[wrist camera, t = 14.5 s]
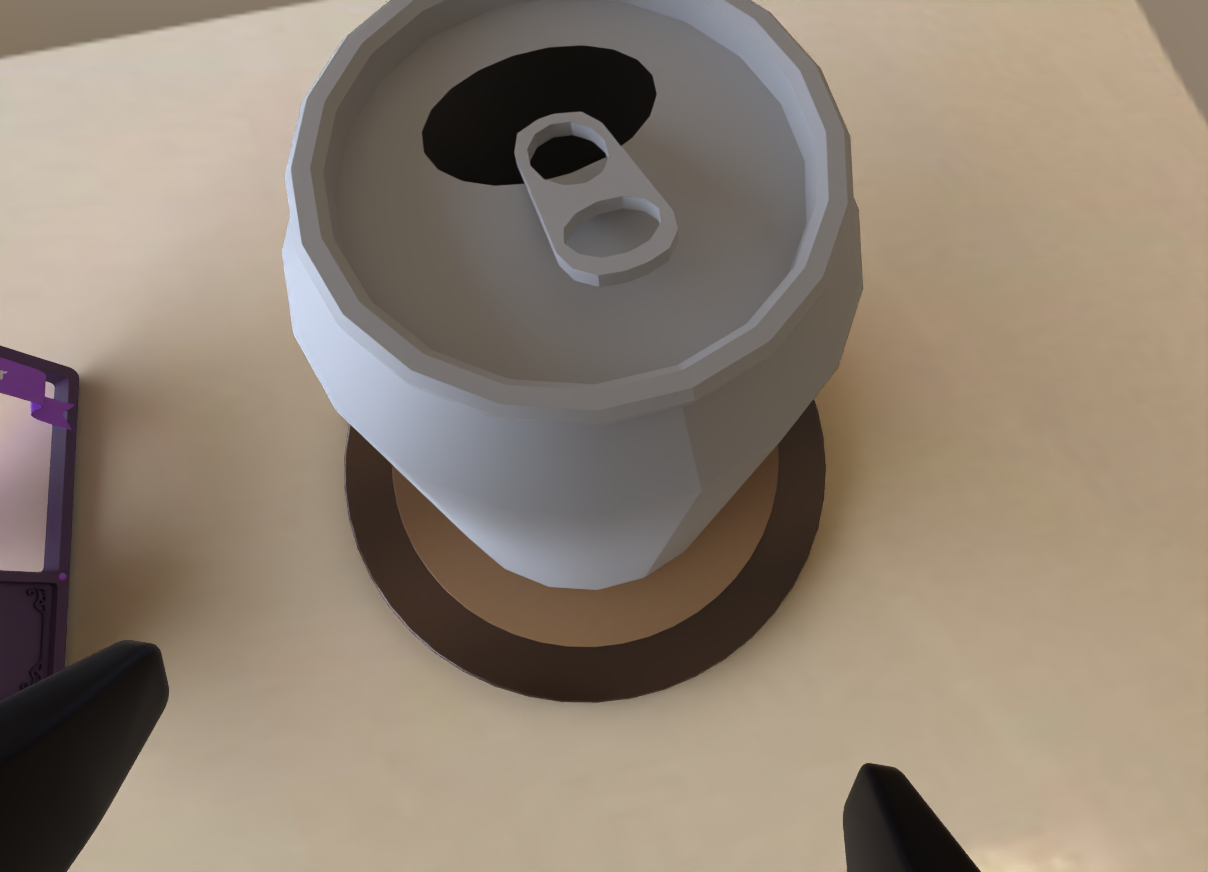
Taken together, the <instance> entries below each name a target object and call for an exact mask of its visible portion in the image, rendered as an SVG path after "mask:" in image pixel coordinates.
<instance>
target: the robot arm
mask: <svg viewBox="0 0 1208 872" xmlns="http://www.w3.org/2000/svg"><path fill="white" fill-rule="evenodd" d="M168 697H169V685H168V681H167V676H166V672H165V668H164V663H163V659H162V654H161V651H160V649H159V648H158V647H157V646H156V645H155V644H152V643H147V642H141V641H135V640H122V641H119V642H117V643H114V644H112V645H110V646H108V647H106V648H104V649H102V650H100V651H98V652H97V653H95V654H93V655H91V656H89V657H87V658H85V659H83V660H81V661H79V662H77V663H75V664H73V665H71V666H69V667H67V668H65V669H63V670H61V671H59V672H57V673H55V674H53V675H51V676H49V677H47V678H45V679H43V680H41V681H39V682H37V683H35V684H33V685H31V686H29V687H27V688H25V689H23V690H21V691H19V692H17V693H15V694H13V695H11V696H9V697H7V698H5V699H3V700H1V701H0V872H67V871H68V869H69V868H70V866H71V865H72V863H73V862H74V860H75V859H76V857H77V856H78V855H79V853H80V852H81V850H82V849H83V847H84V846H85V844H86V843H87V841H88V840H89V838H90V837H91V835H92V834H93V832H94V831H95V829H96V828H97V826H98V825H99V823H100V821H101V820H102V818H103V816H104V815H105V813H106V811H107V810H108V808H109V806H110V805H111V803H112V801H113V799H114V798H115V796H116V794H117V792H118V790H119V789H120V787H121V785H122V783H123V782H124V780H125V778H126V776H127V775H128V773H129V771H130V769H131V767H132V766H133V764H134V762H135V760H136V759H137V757H138V755H139V753H140V752H141V750H142V748H143V746H144V744H145V743H146V741H147V739H148V737H149V736H150V734H151V732H152V730H153V728H154V727H155V725H156V723H157V721H158V720H159V718H160V716H161V714H162V713H163V711H164V709H165V707H166V704H167V701H168ZM843 829H844V840H845V852H846V863H847V872H981V871H980V870H979V869H978V867H977V866H976V865H975V864H974V862H973V861H972V860H971V859H970V857H969V856H968V855H967V854H966V852H965V851H964V850H963V849H962V847H961V846H960V845H959V843H958V842H957V841H956V840H955V838H954V837H953V836H952V835H951V833H950V832H949V831H948V830H947V828H946V827H945V826H944V825H943V823H942V822H941V821H940V819H939V818H938V817H937V816H936V814H935V813H934V812H933V811H932V809H931V808H930V807H929V806H928V804H927V803H926V802H925V801H924V799H923V798H922V797H921V795H920V794H919V793H918V792H917V790H916V789H915V788H914V787H913V785H912V784H911V783H910V782H909V780H908V779H907V778H906V777H905V775H904V774H903V773H902V772H901V771H899V770H898V769H897V768H894V767H890V766H884V765H878V764H872V763H866V764H864V765H863V766H862V767H861V769H860V770H859V772H858V775H857V777H856V779H855V782H854V784H853V786H852V789H851V791H850V793H849V796H848V798H847V800H846V803H845V806H844V812H843Z"/></svg>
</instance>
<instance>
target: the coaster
mask: <svg viewBox="0 0 1208 872" xmlns="http://www.w3.org/2000/svg"><path fill="white" fill-rule="evenodd" d="M825 473H826V464H825V451H824V438H823V433H822V429H821V424H820V419H819V415H818V410H817V407H816V404H815V401H814V399H813V400H812V402H811V403H810V404H809V406H808V407H807V408H806V409H805V411H804V412H803V413H802V414H801V416H800V417H799V418H798V420H797V421H796V422H795V423H794V425H793V426H792V427H791V428H790V430H789V431H788V432H787V434H786V435H785V436H784V437H783V439H782V440H781V441H780V442H779V443H778V444H777V446H776V447H775V448H774V449H773V450H772V451H771V452H770V454H769V455H768V456H767V457H766V458H765V459H764V461H763V462H762V463H761V464H760V465H759V466H758V467H757V469H756V470H755V471H754V472H753V473H752V474H751V476H750V477H749V478H748V479H747V480H746V481H745V482H744V484H743V485H742V486H741V487H740V488H739V489H738V490H737V492H736V493H735V494H734V495H733V496H732V497H731V499H730V500H729V501H728V502H727V503H726V504H725V505H724V507H723V508H722V509H721V510H720V511H719V512H718V514H717V515H716V516H715V517H714V518H713V519H712V520H711V522H710V523H709V524H708V525H707V526H706V527H705V528H704V530H703V531H702V532H701V533H700V534H699V535H698V537H697V538H696V539H695V540H694V541H693V542H692V543H691V545H690V546H689V547H688V548H687V549H686V550H685V552H683V553H682V554H680V555H679V556H677V557H675V558H674V559H672V560H671V561H669V562H668V563H666V564H665V565H663V566H662V567H660V568H659V569H657V570H656V571H654V572H652V573H651V574H649V575H648V576H646V577H645V578H641V579H638V580H634V581H630V582H626V583H622V584H619V585H615V586H611V587H607V588H603V589H600V590H590V589H574V588H558V587H548V586H546V585H543V584H541V583H538V582H536V581H533V580H531V579H528V578H526V577H523V576H521V575H518V574H516V573H513V572H511V571H509V570H506V569H504V568H503V567H502V566H501V565H499V564H498V563H497V562H496V561H495V560H494V559H492V558H491V557H490V556H489V555H488V554H487V553H486V552H484V551H483V550H482V549H481V548H480V547H479V546H477V545H476V544H475V543H474V542H473V541H472V540H470V539H469V538H468V537H467V536H466V535H465V534H464V533H463V532H462V531H461V530H460V529H459V528H458V527H457V526H456V525H455V524H454V523H453V522H452V521H450V520H449V519H448V518H447V517H446V516H445V515H444V514H443V513H442V512H441V511H440V510H439V509H438V508H437V507H436V506H435V505H434V504H433V503H432V502H431V501H430V500H429V499H428V498H427V497H425V496H424V495H423V494H422V493H421V492H420V491H419V490H418V489H417V488H416V487H415V486H414V485H413V484H412V483H411V482H410V481H409V480H408V479H407V478H406V477H405V476H404V475H403V474H402V473H400V472H399V471H398V470H397V469H396V468H395V467H394V466H393V465H392V464H391V463H390V462H389V461H388V460H387V459H386V458H385V457H384V456H383V455H382V454H381V453H380V452H379V451H378V450H377V449H376V448H374V447H373V446H372V445H371V444H370V443H369V442H368V441H367V440H366V439H365V438H364V437H363V436H362V435H361V434H360V433H359V432H358V431H357V430H356V429H355V428H354V427H353V426H352V425H351V424H349V428H348V436H347V443H346V450H345V493H346V500H347V507H348V514H349V520H350V523H351V527H352V530H353V534H354V537H355V541H356V544H357V548H358V550H359V552H360V555H361V557H362V559H363V561H364V564H365V566H366V568H367V570H368V573H369V575H370V577H371V579H372V580H373V582H374V584H375V585H376V587H377V588H378V590H379V592H380V593H381V595H382V596H383V598H384V599H385V601H386V603H387V604H388V606H389V607H390V608H391V609H392V610H393V612H394V613H395V614H396V615H397V616H398V617H399V619H400V620H401V621H402V622H403V623H404V624H405V626H406V627H407V628H408V629H409V630H410V631H411V632H412V633H413V634H414V635H415V636H416V637H417V638H419V639H420V640H421V641H422V642H423V643H424V644H425V645H427V646H428V647H429V648H430V649H431V650H432V651H433V652H435V653H436V654H437V655H439V656H440V657H442V658H443V659H445V660H447V661H448V662H450V663H451V664H453V665H454V666H456V667H457V668H459V669H460V670H462V671H463V672H465V673H467V674H470V675H472V676H474V677H476V678H478V679H480V680H482V681H484V682H487V683H489V684H491V685H493V686H495V687H499V688H502V689H505V690H508V691H512V692H515V693H518V694H521V695H525V696H528V697H534V698H541V699H547V700H553V701H559V702H592V703H598V702H606V701H614V700H622V699H631V698H635V697H639V696H642V695H646V694H650V693H654V692H657V691H661V690H665V689H667V688H670V687H672V686H674V685H677V684H679V683H681V682H684V681H686V680H689V679H691V678H693V677H696V676H698V675H699V674H701V673H703V672H704V671H706V670H708V669H709V668H711V667H713V666H714V665H716V664H718V663H719V662H721V661H723V660H724V659H726V658H727V657H728V656H730V655H731V654H732V653H733V652H735V651H736V650H737V649H738V648H740V647H741V646H742V645H743V644H745V643H746V642H747V641H748V640H749V639H751V638H752V637H753V636H754V635H755V634H756V633H757V632H758V630H759V629H760V628H761V627H762V626H763V625H764V624H765V623H766V622H767V621H768V620H769V619H770V618H771V617H772V616H773V614H774V613H775V612H776V611H777V609H778V608H779V606H780V605H781V603H782V602H783V601H784V599H785V598H786V596H787V595H788V593H789V592H790V591H791V589H792V588H793V586H794V584H795V582H796V580H797V578H798V576H799V574H800V572H801V570H802V568H803V567H804V565H805V563H806V561H807V559H808V556H809V553H810V550H811V547H812V544H813V542H814V539H815V536H816V533H817V530H818V526H819V521H820V516H821V511H822V506H823V501H824V490H825Z"/></svg>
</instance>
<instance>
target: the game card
mask: <svg viewBox="0 0 1208 872" xmlns="http://www.w3.org/2000/svg"><path fill="white" fill-rule="evenodd" d="M46 381H47V382H50V383H52V384H53V385H54V386H55V393H54V399H50V398H47V397H45V383H46ZM78 391H79V376H78V374H77V372H76V371H75V370H74V369H72V368H70V367H66V366H63V365H60V364H57V363H54V362H50V361H47V360H44V359H41V358H38V357H35V356H31V355H28V354H25V353H22V352H19V351H16V350H12V349H9V348H6V347H3V346H0V393H3V394H7V395H10V396H14V397H17V398H21V399H24V400H27V401H31V416H32V417H34V418H36V419H38V420H40V421H43V422H46V423H49V424H52V425H53V426H52V442H51V459H50V475H49V492H48V508H47V524H46V541H45V557H44V569H43V571H41V572H23V571H2V570H0V701H1V700H3V699H5V698H7V697H9V696H11V695H13V694H15V693H17V692H19V691H21V690H23V689H25V688H27V687H29V686H31V685H33V684H35V683H37V682H39V681H41V680H43V679H45V678H47V677H49V676H51V675H53V674H55V673H57V672H59V671H61V670H63V669H65V649H66V629H67V609H68V589H69V570H70V550H71V530H72V510H73V490H74V470H75V450H76V430H77V410H78Z"/></svg>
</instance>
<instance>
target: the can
mask: <svg viewBox="0 0 1208 872" xmlns="http://www.w3.org/2000/svg"><path fill="white" fill-rule="evenodd" d="M285 182H286V189H287V196H288V202H289V209H290V218H289V223H288V227H287V231H286V236H285V240H284V245H283V249H282V258H283V265H284V272H285V279H286V286H287V293H288V300H289V308H290V315H291V322H292V329H293V334H294V336H295V338H296V340H297V342H298V343H299V345H300V347H301V349H302V351H303V352H304V354H305V356H306V358H307V360H308V361H309V363H310V365H311V367H312V369H313V370H314V372H315V374H316V376H317V378H318V379H319V381H320V383H321V385H322V387H323V388H324V390H325V392H326V394H327V396H328V397H329V399H330V401H331V403H332V404H333V406H334V408H335V410H336V411H337V412H338V413H339V414H340V415H341V416H342V417H343V418H344V419H345V420H346V421H347V422H348V423H349V424H351V425H352V426H353V427H354V428H355V429H356V430H357V431H358V432H359V433H360V434H361V435H362V436H363V437H364V438H365V439H366V440H367V441H368V442H369V443H370V444H371V445H372V446H373V447H374V448H376V449H377V450H378V451H379V452H380V453H381V454H382V455H383V456H384V457H385V458H386V459H387V460H388V461H389V462H390V463H391V464H392V465H393V466H394V467H395V468H396V469H397V470H398V471H399V472H400V473H402V474H403V475H404V476H405V477H406V478H407V479H408V480H409V481H410V482H411V483H412V484H413V485H414V486H415V487H416V488H417V489H418V490H419V491H420V492H421V493H422V494H423V495H424V496H425V497H427V498H428V499H429V500H430V501H431V502H432V503H433V504H434V505H435V506H436V507H437V508H438V509H439V510H440V511H441V512H442V513H443V514H444V515H445V516H446V517H447V518H448V519H449V520H450V521H452V522H453V523H454V524H455V525H456V526H457V527H458V528H459V529H460V530H461V531H462V532H463V533H464V534H465V535H466V536H467V537H468V538H469V539H470V540H472V541H473V542H474V543H475V544H476V545H477V546H479V547H480V548H481V549H482V550H483V551H484V552H486V553H487V554H488V555H489V556H490V557H491V558H492V559H494V560H495V561H496V562H497V563H498V564H499V565H501V566H502V567H503V568H504V569H506V570H509V571H511V572H513V573H516V574H518V575H521V576H523V577H526V578H528V579H531V580H533V581H536V582H538V583H541V584H543V585H546V586H548V587H558V588H574V589H590V590H600V589H603V588H607V587H611V586H615V585H619V584H622V583H626V582H630V581H634V580H638V579H641V578H645V577H646V576H648V575H649V574H651V573H652V572H654V571H656V570H657V569H659V568H660V567H662V566H663V565H665V564H666V563H668V562H669V561H671V560H672V559H674V558H675V557H677V556H679V555H680V554H682V553H683V552H685V550H686V549H687V548H688V547H689V546H690V545H691V543H692V542H693V541H694V540H695V539H696V538H697V537H698V535H699V534H700V533H701V532H702V531H703V530H704V528H705V527H706V526H707V525H708V524H709V523H710V522H711V520H712V519H713V518H714V517H715V516H716V515H717V514H718V512H719V511H720V510H721V509H722V508H723V507H724V505H725V504H726V503H727V502H728V501H729V500H730V499H731V497H732V496H733V495H734V494H735V493H736V492H737V490H738V489H739V488H740V487H741V486H742V485H743V484H744V482H745V481H746V480H747V479H748V478H749V477H750V476H751V474H752V473H753V472H754V471H755V470H756V469H757V467H758V466H759V465H760V464H761V463H762V462H763V461H764V459H765V458H766V457H767V456H768V455H769V454H770V452H771V451H772V450H773V449H774V448H775V447H776V446H777V444H778V443H779V442H780V441H781V440H782V439H783V437H784V436H785V435H786V434H787V432H788V431H789V430H790V428H791V427H792V426H793V425H794V423H795V422H796V421H797V420H798V418H799V417H800V416H801V414H802V413H803V412H804V411H805V409H806V408H807V407H808V406H809V404H810V403H811V402H812V400H813V399H814V398H815V397H816V395H817V394H818V393H819V391H820V390H821V389H822V388H823V386H824V385H825V384H826V383H827V381H828V380H829V379H830V377H831V376H832V375H833V374H834V372H835V371H836V370H837V368H838V366H839V363H840V360H841V357H842V354H843V350H844V347H845V344H846V341H847V338H848V335H849V331H850V328H851V325H852V322H853V319H854V316H855V313H856V309H857V306H858V303H859V300H860V297H861V294H862V290H863V277H862V259H861V241H860V223H859V209H858V206H857V204H856V202H855V199H854V197H853V180H852V161H851V142H850V135H849V132H848V130H847V128H846V125H845V123H844V121H843V118H842V116H841V114H840V112H839V109H838V107H837V105H836V102H835V100H834V98H833V96H832V93H831V91H830V89H829V86H828V84H827V82H826V79H825V77H824V75H823V73H822V70H821V68H820V67H819V66H818V65H817V64H816V63H815V62H814V60H813V59H812V58H811V57H810V56H809V55H808V54H807V53H806V52H805V50H804V49H803V48H802V47H801V46H800V45H799V44H798V43H797V42H796V40H795V39H794V38H793V37H792V36H791V35H790V34H789V33H788V32H787V30H786V29H785V28H784V27H783V26H782V25H781V24H780V23H779V22H778V21H777V19H776V18H775V17H774V16H773V15H772V14H771V13H770V12H769V11H767V10H765V9H764V8H762V7H761V6H759V5H757V4H756V3H754V2H752V1H751V0H390V1H389V2H387V3H386V4H385V5H384V6H383V7H381V8H380V9H379V10H378V11H376V12H375V13H374V14H373V15H372V16H370V17H369V18H368V19H367V20H366V21H364V22H363V23H362V24H361V25H359V26H358V27H357V28H356V29H355V30H353V31H352V32H351V33H350V34H349V35H347V36H346V37H345V38H344V39H343V40H342V41H341V43H340V44H339V46H338V47H337V49H336V50H335V52H334V54H333V55H332V57H331V58H330V60H329V61H328V63H327V64H326V66H325V67H324V69H323V70H322V72H321V74H320V75H319V77H318V78H317V80H316V81H315V83H314V84H313V86H312V87H311V89H310V91H309V92H308V94H307V95H306V97H305V98H304V100H303V101H302V103H301V108H300V112H299V116H298V120H297V125H296V129H295V133H294V138H293V142H292V146H291V150H290V155H289V159H288V163H287V168H286V172H285Z"/></svg>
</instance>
